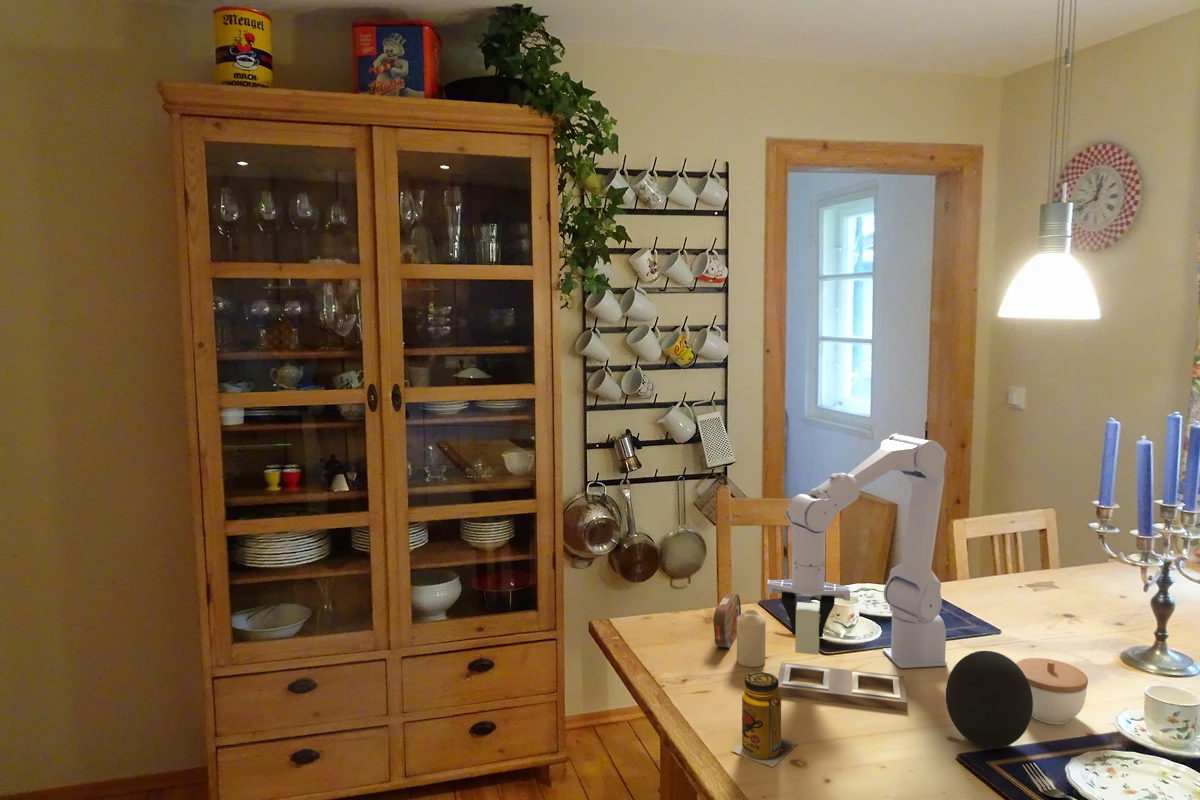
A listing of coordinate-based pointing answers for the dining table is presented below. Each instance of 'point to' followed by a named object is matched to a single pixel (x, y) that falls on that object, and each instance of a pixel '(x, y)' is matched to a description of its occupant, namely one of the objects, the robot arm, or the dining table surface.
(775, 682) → the condiment
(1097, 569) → the dining table surface
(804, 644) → the peg
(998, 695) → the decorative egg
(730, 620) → the tin
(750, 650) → the candle
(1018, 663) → the lidded jar
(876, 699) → the socket board
